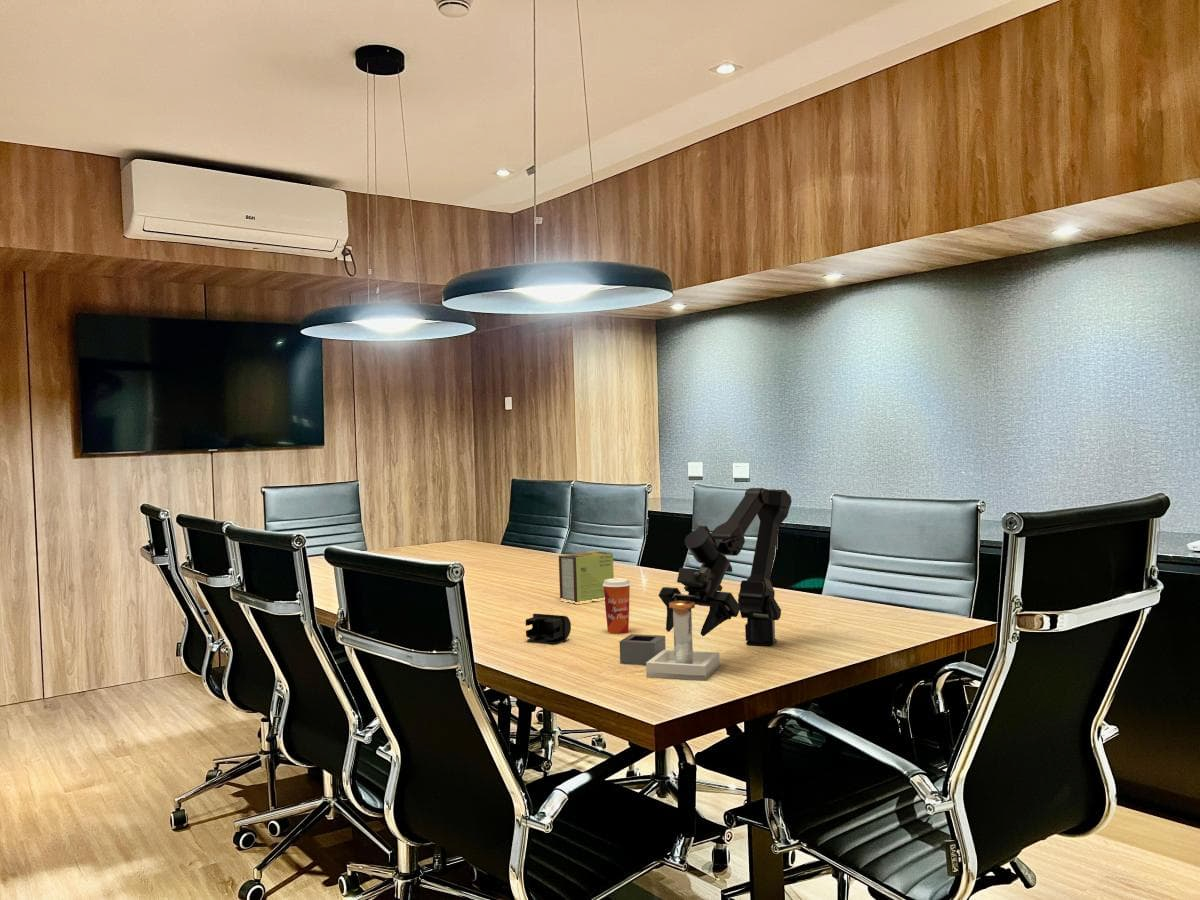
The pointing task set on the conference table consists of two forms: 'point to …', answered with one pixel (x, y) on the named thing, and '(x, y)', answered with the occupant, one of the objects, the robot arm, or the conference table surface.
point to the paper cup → (617, 604)
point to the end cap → (548, 629)
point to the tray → (683, 666)
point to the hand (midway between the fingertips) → (684, 632)
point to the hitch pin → (682, 631)
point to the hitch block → (640, 648)
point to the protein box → (584, 575)
